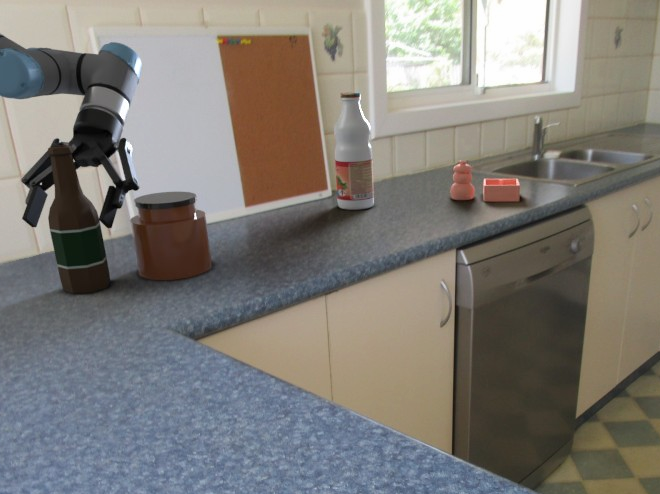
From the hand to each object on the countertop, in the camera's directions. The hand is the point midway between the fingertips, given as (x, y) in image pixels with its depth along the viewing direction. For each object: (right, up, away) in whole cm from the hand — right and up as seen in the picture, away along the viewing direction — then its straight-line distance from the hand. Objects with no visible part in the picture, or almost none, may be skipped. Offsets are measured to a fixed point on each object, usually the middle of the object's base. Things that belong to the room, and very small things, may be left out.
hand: (66, 223), depth 109 cm
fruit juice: (+43, +11, +62) cm, 77 cm away
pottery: (+77, +15, +68) cm, 104 cm away
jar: (+13, -7, +15) cm, 21 cm away
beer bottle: (+1, -10, +6) cm, 12 cm away
